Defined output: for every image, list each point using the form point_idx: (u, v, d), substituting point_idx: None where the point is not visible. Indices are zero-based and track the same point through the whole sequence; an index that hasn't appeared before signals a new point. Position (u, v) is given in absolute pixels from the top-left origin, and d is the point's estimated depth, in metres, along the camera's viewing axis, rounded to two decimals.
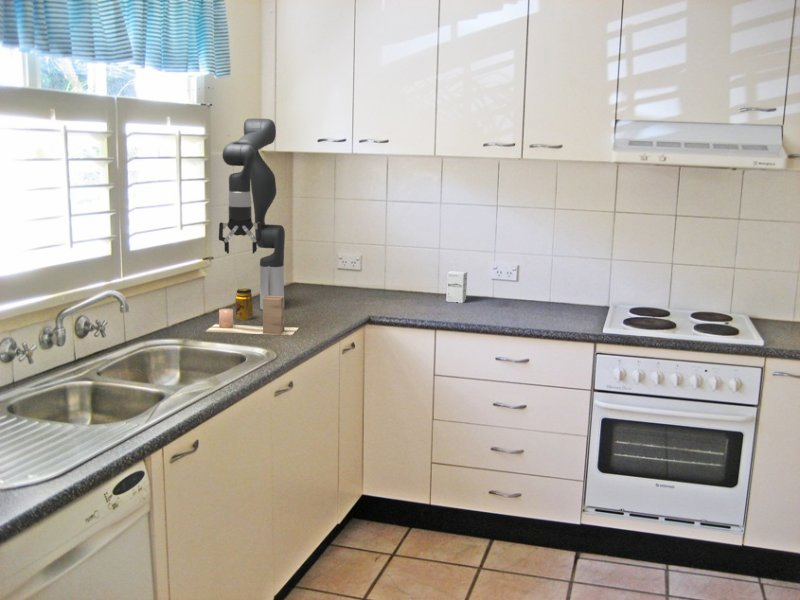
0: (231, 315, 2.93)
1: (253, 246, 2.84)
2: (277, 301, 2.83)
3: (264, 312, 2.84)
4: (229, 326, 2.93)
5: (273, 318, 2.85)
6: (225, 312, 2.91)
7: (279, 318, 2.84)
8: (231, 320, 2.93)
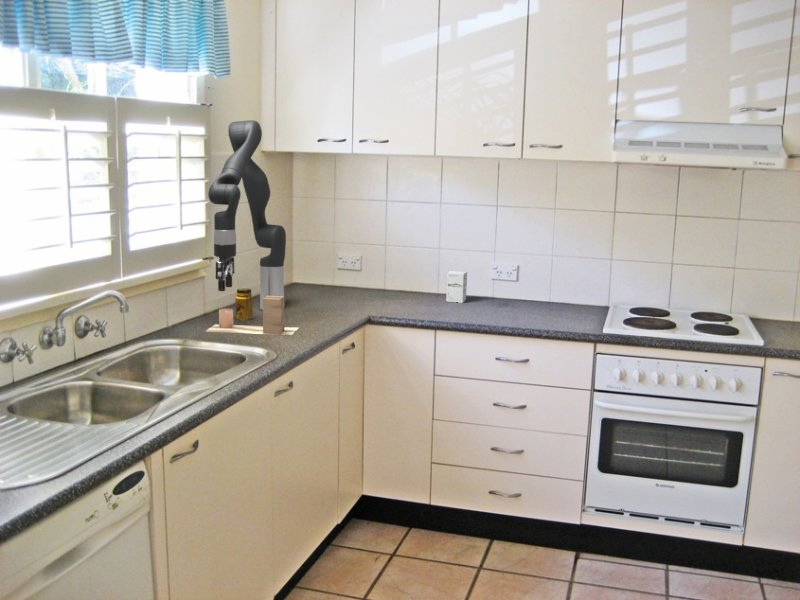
0: (231, 315, 2.93)
1: (231, 280, 2.96)
2: (277, 301, 2.83)
3: (264, 312, 2.84)
4: (229, 326, 2.93)
5: (273, 318, 2.85)
6: (225, 312, 2.91)
7: (279, 318, 2.84)
8: (231, 320, 2.93)
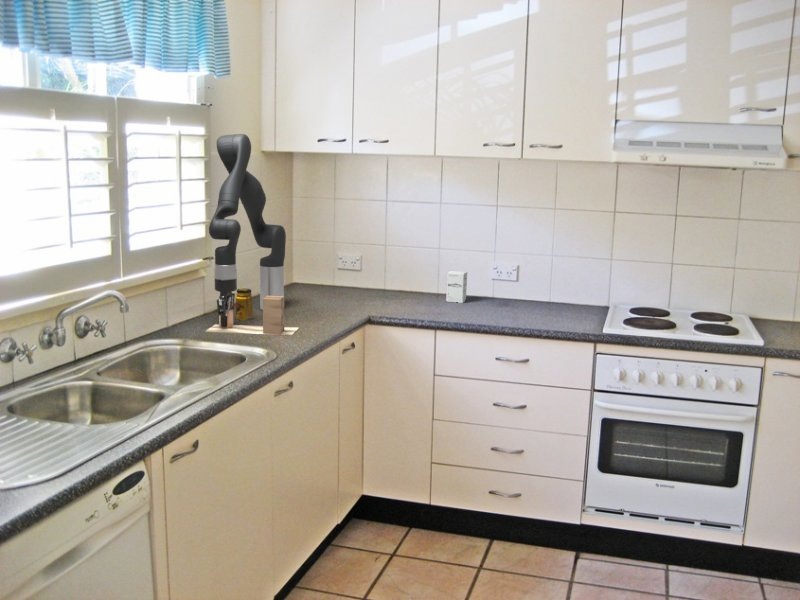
0: (231, 315, 2.93)
1: None
2: (277, 301, 2.83)
3: (264, 312, 2.84)
4: (229, 326, 2.93)
5: (273, 318, 2.85)
6: None
7: (279, 318, 2.84)
8: (231, 320, 2.93)
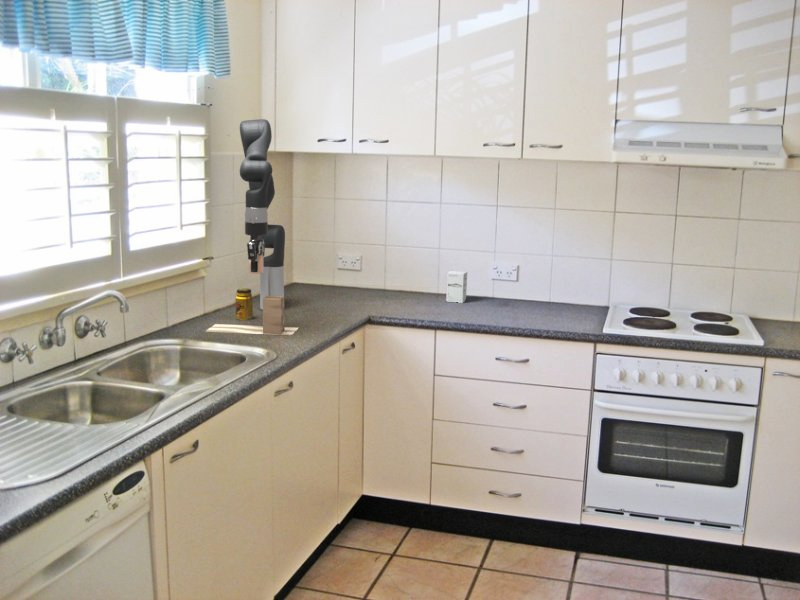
0: (261, 260, 2.84)
1: None
2: (277, 301, 2.83)
3: (264, 312, 2.84)
4: (259, 272, 2.84)
5: (273, 318, 2.85)
6: None
7: (279, 318, 2.84)
8: (261, 265, 2.85)
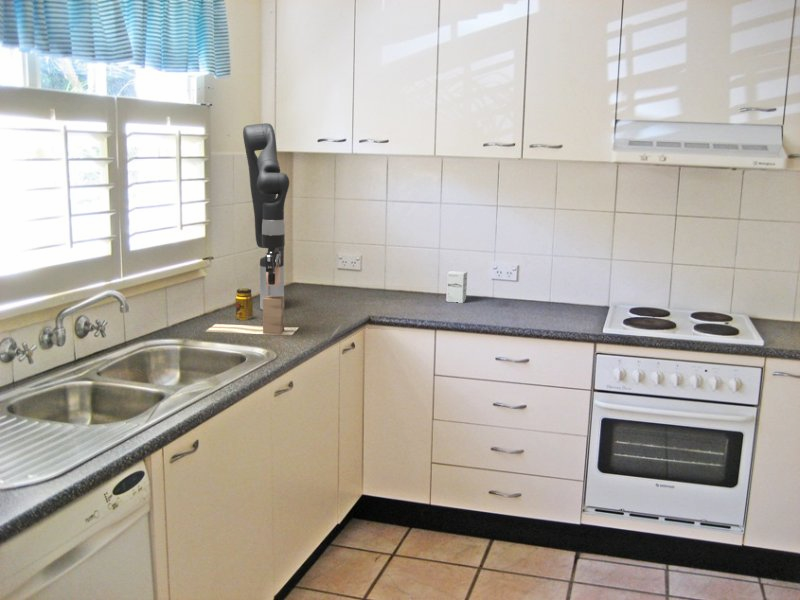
0: (279, 272, 2.84)
1: None
2: (277, 301, 2.83)
3: (264, 312, 2.84)
4: (276, 284, 2.84)
5: (273, 318, 2.85)
6: None
7: (279, 318, 2.84)
8: (278, 278, 2.84)
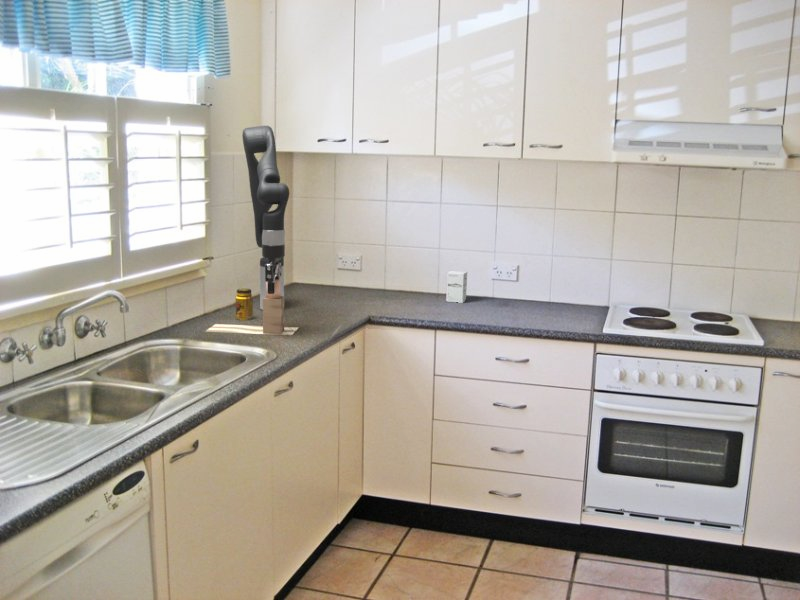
0: (279, 285, 2.85)
1: None
2: (277, 301, 2.83)
3: (264, 312, 2.84)
4: (277, 297, 2.84)
5: (273, 318, 2.85)
6: None
7: (279, 318, 2.84)
8: (279, 290, 2.85)
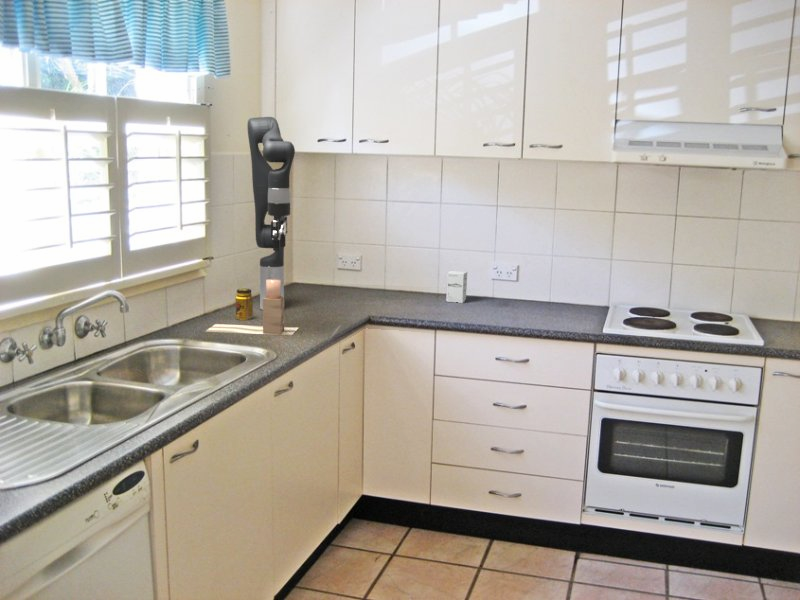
0: (279, 285, 2.85)
1: (285, 240, 2.92)
2: (277, 301, 2.83)
3: (264, 312, 2.84)
4: (277, 297, 2.84)
5: (273, 318, 2.85)
6: (273, 282, 2.83)
7: (279, 318, 2.84)
8: (279, 290, 2.85)
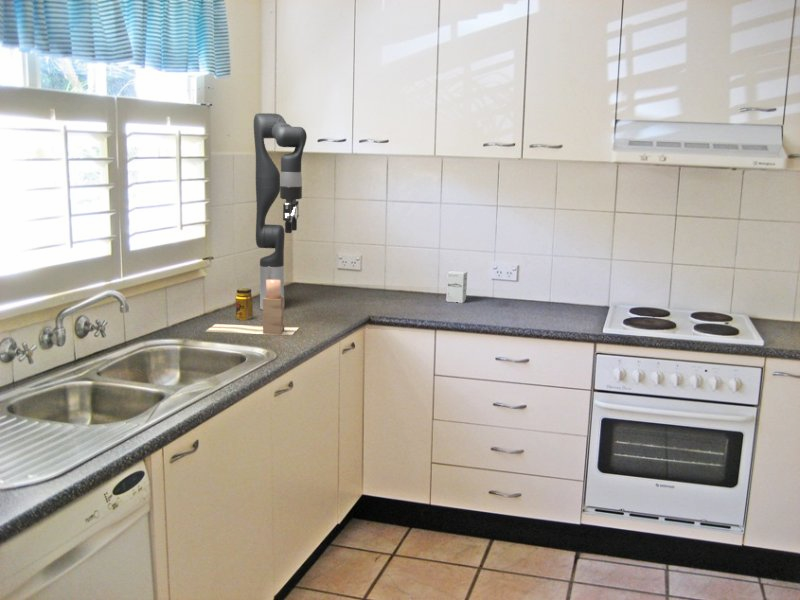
0: (279, 285, 2.85)
1: (296, 223, 3.00)
2: (277, 301, 2.83)
3: (264, 312, 2.84)
4: (277, 297, 2.84)
5: (273, 318, 2.85)
6: (273, 282, 2.83)
7: (279, 318, 2.84)
8: (279, 290, 2.85)
